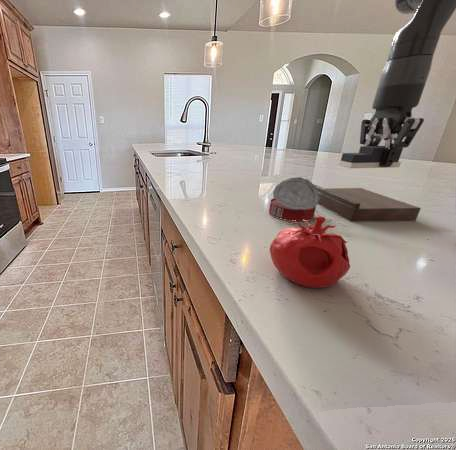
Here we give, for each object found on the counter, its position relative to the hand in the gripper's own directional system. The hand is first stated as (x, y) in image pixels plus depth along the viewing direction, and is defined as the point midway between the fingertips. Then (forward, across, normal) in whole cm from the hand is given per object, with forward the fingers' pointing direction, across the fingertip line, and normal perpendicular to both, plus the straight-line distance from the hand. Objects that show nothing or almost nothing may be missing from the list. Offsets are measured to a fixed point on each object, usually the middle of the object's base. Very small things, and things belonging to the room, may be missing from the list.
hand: (375, 164), depth 59 cm
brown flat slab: (+11, 0, +2) cm, 11 cm away
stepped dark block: (0, 0, +2) cm, 2 cm away
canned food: (+11, -4, +20) cm, 23 cm away
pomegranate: (+11, -30, +30) cm, 44 cm away
